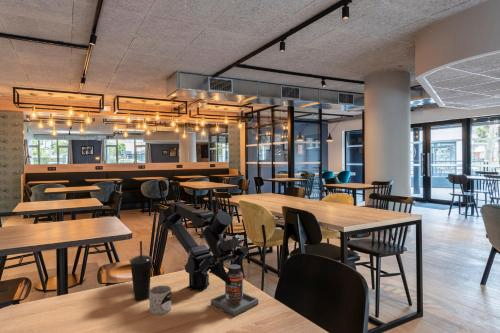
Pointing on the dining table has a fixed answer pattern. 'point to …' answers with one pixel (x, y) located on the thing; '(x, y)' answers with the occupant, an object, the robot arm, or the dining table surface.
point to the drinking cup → (141, 275)
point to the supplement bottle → (234, 284)
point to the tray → (234, 304)
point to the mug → (160, 300)
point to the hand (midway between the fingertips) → (237, 281)
